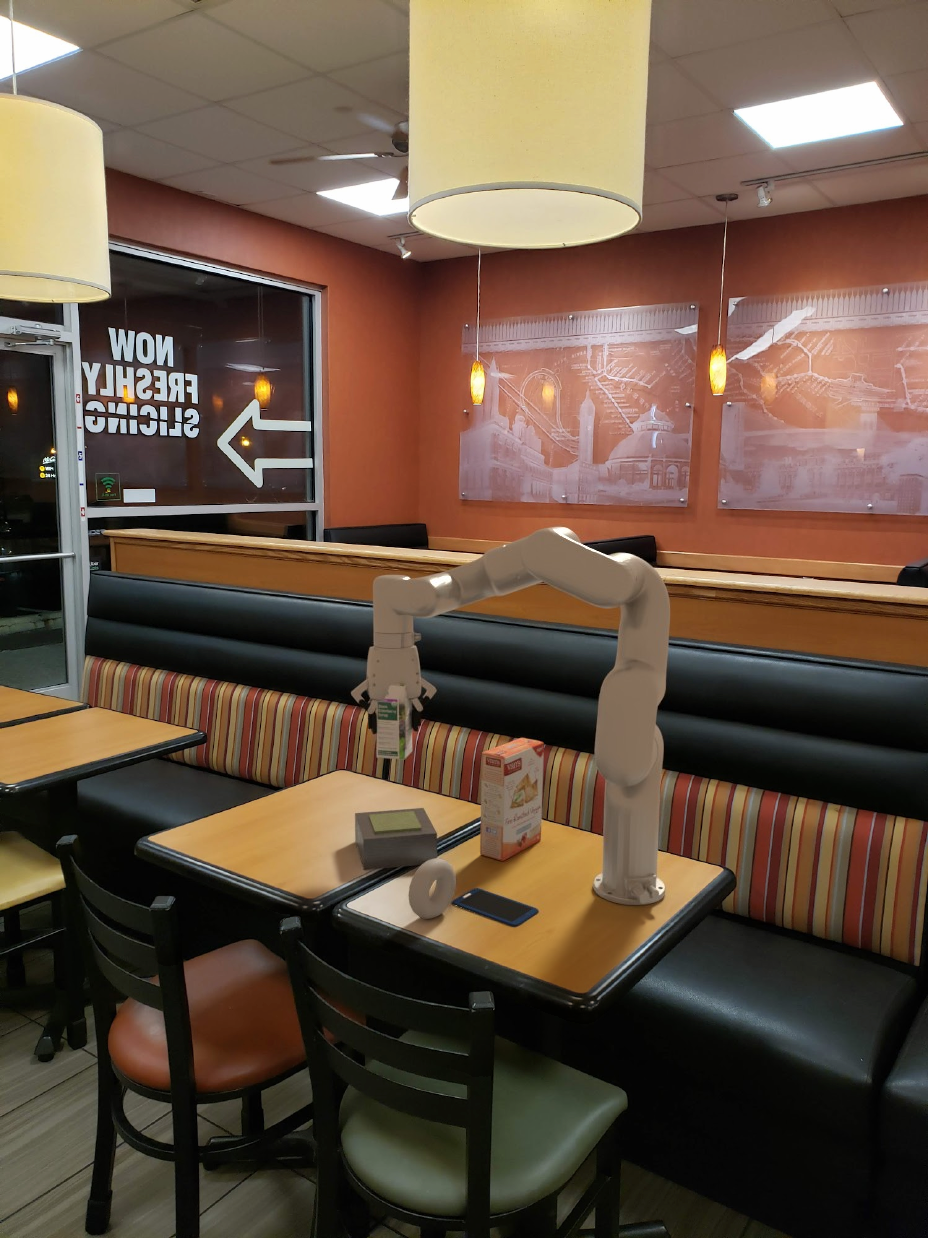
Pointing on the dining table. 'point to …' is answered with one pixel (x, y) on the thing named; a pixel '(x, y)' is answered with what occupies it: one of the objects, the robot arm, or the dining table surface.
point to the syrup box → (394, 724)
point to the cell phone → (495, 907)
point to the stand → (395, 838)
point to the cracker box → (511, 798)
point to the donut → (422, 885)
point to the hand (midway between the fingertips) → (394, 730)
